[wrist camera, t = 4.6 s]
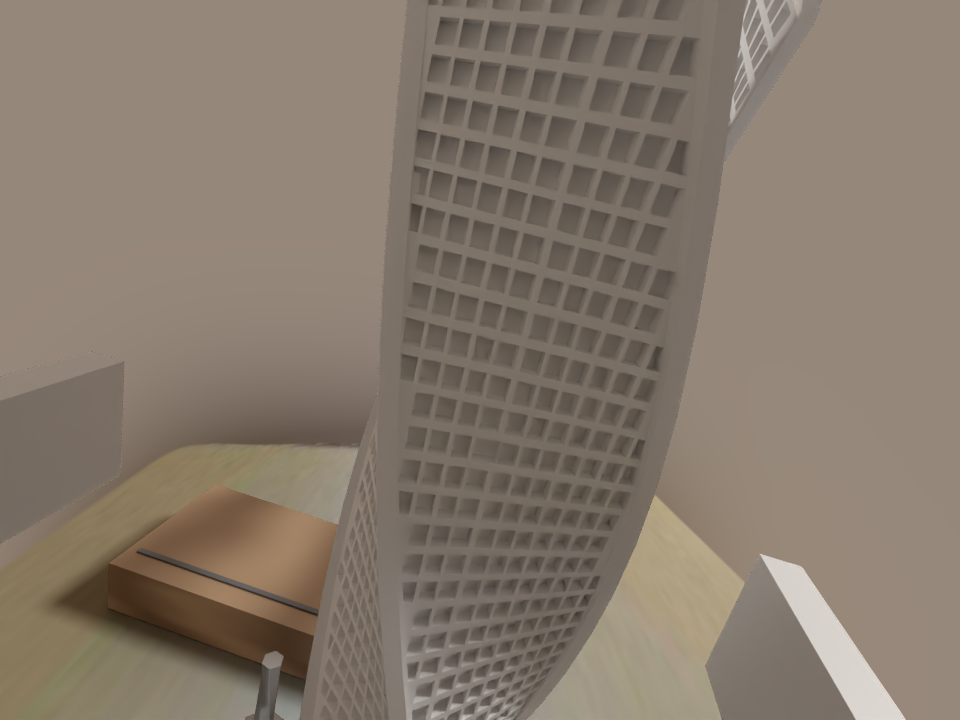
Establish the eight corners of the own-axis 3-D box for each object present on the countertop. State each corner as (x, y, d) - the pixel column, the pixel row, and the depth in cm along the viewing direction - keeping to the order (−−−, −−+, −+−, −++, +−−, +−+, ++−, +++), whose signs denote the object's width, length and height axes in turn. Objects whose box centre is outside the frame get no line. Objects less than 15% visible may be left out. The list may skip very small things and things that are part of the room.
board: (526, 627, 28) (538, 589, 27) (511, 755, 21) (528, 710, 20) (211, 521, 30) (215, 482, 29) (107, 607, 23) (108, 561, 22)
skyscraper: (269, 733, 20) (412, -147, 11) (472, 749, 21) (731, -33, 13) (157, 1104, 12) (365, -914, 3) (495, 1094, 13) (1233, -403, 5)
